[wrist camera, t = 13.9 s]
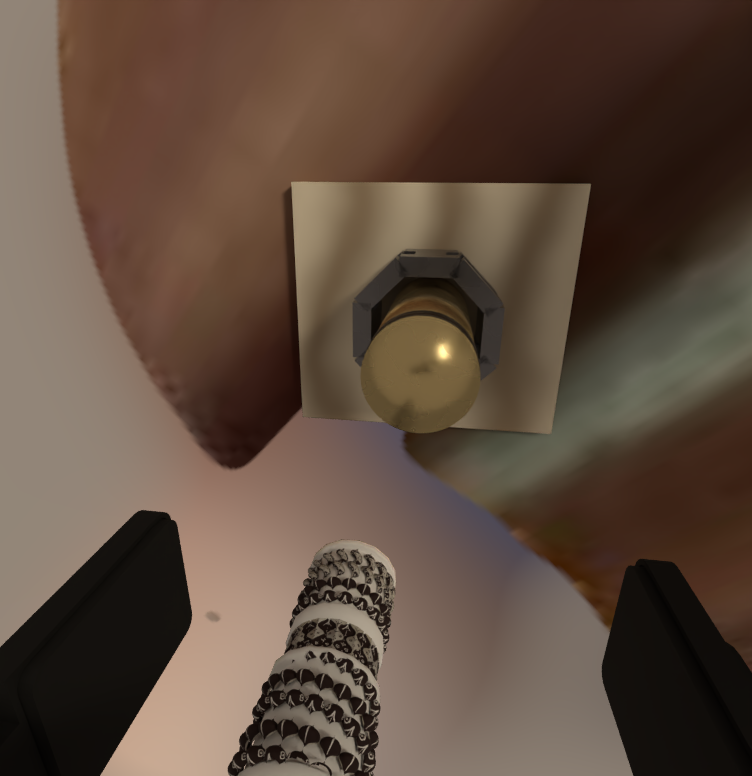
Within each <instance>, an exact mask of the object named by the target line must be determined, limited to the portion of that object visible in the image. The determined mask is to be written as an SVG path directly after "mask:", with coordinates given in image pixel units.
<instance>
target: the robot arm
mask: <svg viewBox="0 0 752 776" xmlns="http://www.w3.org/2000/svg"><path fill="white" fill-rule="evenodd" d="M191 620H192V610H191V605H190V598H189V592H188V586H187V581H186V575H185V569H184V563H183V557H182V551H181V545H180V539H179V533H178V527H177V524H176V522H175V521H174V520H171V518H170V516H169V514H167V513H165V512H156V511H146V510H141V511H138V512H137V513H135V514H134V515H133V516H132V517H131V518H130V519H129V520H128V521H127V522H126V523H125V524H124V525H123V526H122V527H121V528H120V529H119V530H118V531H117V532H116V533H115V534H114V535H113V536H112V537H111V538H110V539H109V540H108V541H107V542H106V543H105V544H104V545H103V546H102V547H101V548H100V549H99V550H98V551H97V552H96V553H95V554H94V555H93V556H92V557H91V558H90V559H89V560H88V561H87V562H86V563H85V564H84V565H83V566H82V567H81V568H80V569H79V570H78V571H77V572H76V573H75V574H74V575H73V576H72V577H71V578H70V579H69V580H68V581H67V582H66V583H65V584H64V585H63V586H62V587H61V588H60V589H59V590H58V591H57V592H56V593H55V594H54V595H52V597H50V599H49V600H47V601H46V602H45V603H44V604H43V605H42V606H41V607H40V608H39V609H38V610H37V611H36V612H35V613H34V614H33V615H32V616H31V617H30V618H29V619H28V620H27V621H26V622H25V623H24V624H23V625H22V626H21V627H20V628H19V629H18V630H17V631H16V632H15V633H14V634H13V635H12V636H11V637H10V638H9V639H8V640H7V641H6V642H5V643H4V644H3V645H2V646H1V647H0V776H100V775H101V773H102V772H103V770H104V768H105V767H106V765H107V763H108V762H109V760H110V758H111V757H112V755H113V753H114V752H115V750H116V748H117V747H118V745H119V743H120V742H121V740H122V738H123V737H124V735H125V734H126V732H127V730H128V729H129V727H130V725H131V724H132V722H133V720H134V719H135V717H136V715H137V714H138V712H139V710H140V709H141V707H142V706H143V704H144V702H145V701H146V699H147V697H148V696H149V694H150V692H151V691H152V689H153V687H154V686H155V684H156V683H157V681H158V679H159V678H160V676H161V674H162V673H163V671H164V669H165V668H166V666H167V664H168V663H169V661H170V660H171V658H172V656H173V655H174V653H175V651H176V650H177V648H178V646H179V645H180V643H181V641H182V640H183V638H184V636H185V635H186V633H187V631H188V629H189V627H190V624H191ZM602 678H603V684H604V687H605V690H606V693H607V696H608V700H609V703H610V706H611V709H612V711H613V715H614V717H615V721H616V724H617V727H618V730H619V733H620V736H621V739H622V742H623V745H624V748H625V751H626V754H627V758H628V760H629V763H630V767H631V770H632V773H633V776H752V673H751V671H750V669H749V668H748V666H747V665H746V663H745V662H744V660H743V659H742V657H741V656H740V654H739V653H738V652H737V651H736V650H735V648H734V647H733V646H731V645H730V644H728V643H727V642H725V641H724V639H723V638H722V636H721V634H720V633H719V631H718V630H717V628H716V627H715V625H714V623H713V622H712V620H711V619H710V617H709V616H708V614H707V612H706V611H705V609H704V608H703V606H702V605H701V603H700V602H699V600H698V598H697V597H696V595H695V594H694V592H693V591H692V589H691V587H690V586H689V584H688V583H687V581H686V580H685V578H684V576H683V575H682V573H681V572H680V570H679V569H678V567H677V566H676V565H675V564H674V563H672V562H668V561H658V560H648V559H639V560H638V561H637V562H636V565H635V566H628V567H627V569H626V571H625V575H624V579H623V583H622V587H621V591H620V595H619V599H618V603H617V607H616V611H615V615H614V619H613V623H612V627H611V631H610V635H609V639H608V643H607V647H606V651H605V655H604V659H603V663H602Z"/></svg>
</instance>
